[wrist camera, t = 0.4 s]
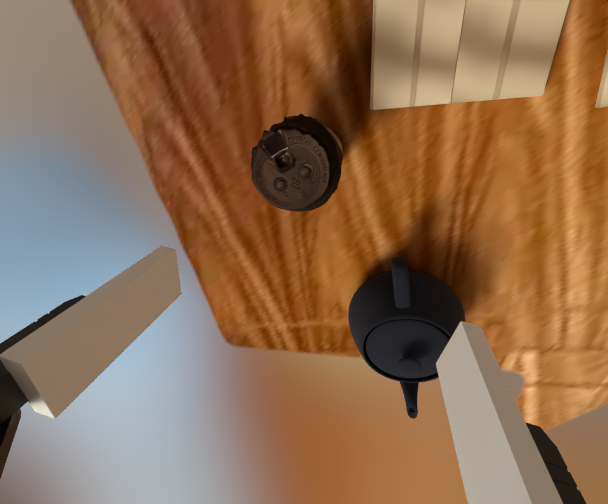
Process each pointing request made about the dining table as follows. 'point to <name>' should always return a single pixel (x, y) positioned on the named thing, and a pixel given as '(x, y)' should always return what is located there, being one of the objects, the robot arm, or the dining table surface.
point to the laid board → (506, 48)
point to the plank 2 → (603, 87)
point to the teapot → (404, 325)
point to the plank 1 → (414, 52)
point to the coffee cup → (297, 164)
